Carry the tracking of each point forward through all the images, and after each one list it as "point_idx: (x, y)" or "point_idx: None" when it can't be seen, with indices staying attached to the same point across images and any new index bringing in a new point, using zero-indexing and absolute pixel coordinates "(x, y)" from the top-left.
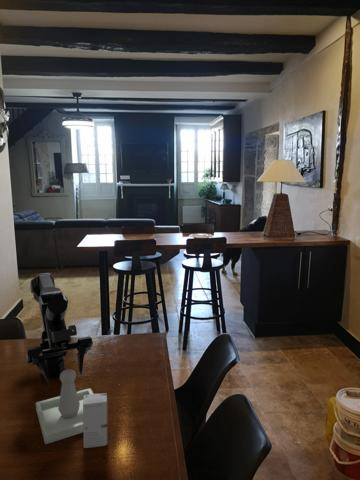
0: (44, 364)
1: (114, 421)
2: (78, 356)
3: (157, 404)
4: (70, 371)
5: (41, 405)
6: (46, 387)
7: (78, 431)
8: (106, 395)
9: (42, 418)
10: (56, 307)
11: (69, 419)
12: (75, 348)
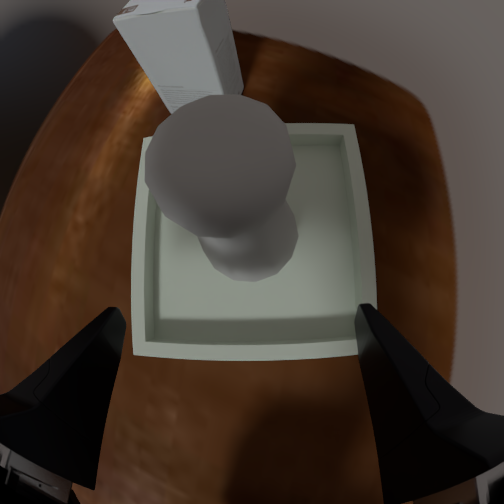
0: (430, 406)
1: (128, 160)
2: (71, 437)
3: (26, 196)
4: (183, 136)
5: (353, 337)
6: (300, 475)
7: None
8: (122, 9)
9: (362, 221)
10: None
11: None
12: (54, 499)
